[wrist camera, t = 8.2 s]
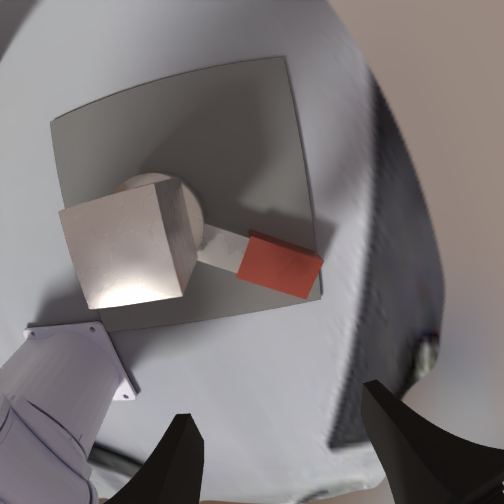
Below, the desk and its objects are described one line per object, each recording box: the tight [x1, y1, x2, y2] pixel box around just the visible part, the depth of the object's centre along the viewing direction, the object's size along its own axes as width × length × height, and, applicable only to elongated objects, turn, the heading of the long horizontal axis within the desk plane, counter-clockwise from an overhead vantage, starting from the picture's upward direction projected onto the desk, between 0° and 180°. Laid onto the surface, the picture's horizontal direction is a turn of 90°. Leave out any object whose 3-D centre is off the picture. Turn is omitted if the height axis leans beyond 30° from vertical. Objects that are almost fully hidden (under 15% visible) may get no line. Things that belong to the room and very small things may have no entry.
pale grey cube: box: [58, 176, 198, 310], centre depth 14 cm, size 5×5×5 cm
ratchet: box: [112, 172, 324, 299], centre depth 16 cm, size 13×6×5 cm, turn 70°
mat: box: [50, 57, 321, 332], centre depth 18 cm, size 16×16×1 cm
